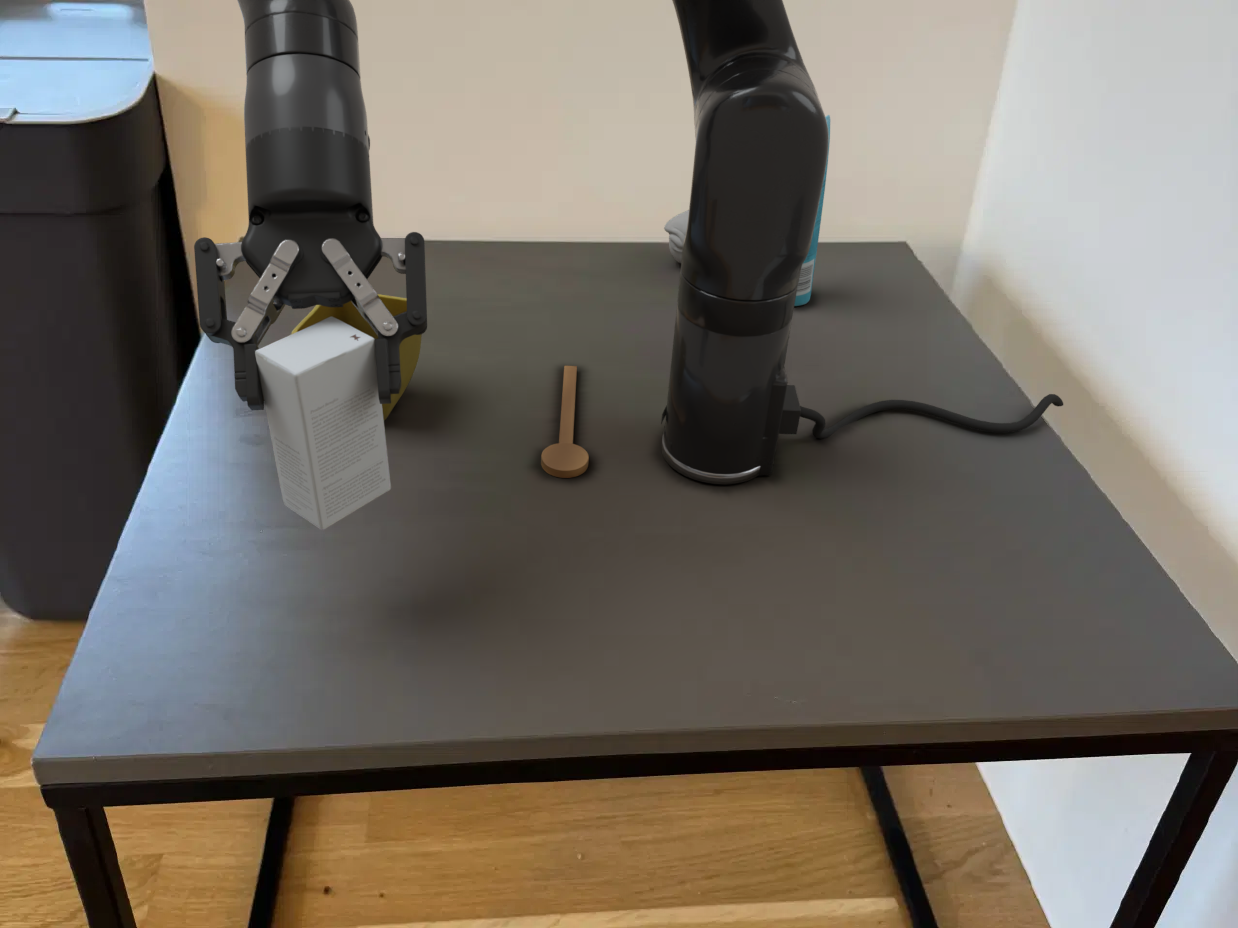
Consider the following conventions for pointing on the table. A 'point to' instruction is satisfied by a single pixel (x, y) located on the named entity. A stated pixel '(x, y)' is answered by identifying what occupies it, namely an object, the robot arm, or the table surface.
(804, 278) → the tube
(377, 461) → the cosmetic box
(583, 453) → the wooden spoon
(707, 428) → the robot arm
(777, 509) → the table surface
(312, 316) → the flower pot
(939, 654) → the table surface
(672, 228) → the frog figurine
